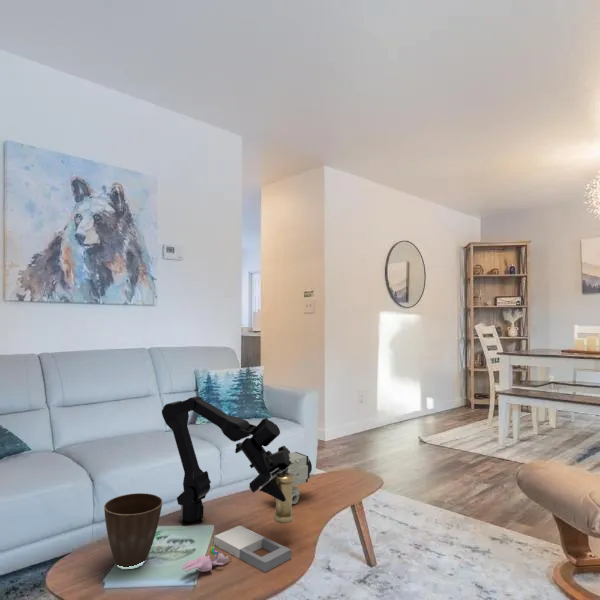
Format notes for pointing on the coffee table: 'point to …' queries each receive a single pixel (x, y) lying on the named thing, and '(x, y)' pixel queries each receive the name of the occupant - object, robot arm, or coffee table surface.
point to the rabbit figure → (207, 561)
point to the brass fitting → (285, 508)
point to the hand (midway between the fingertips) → (288, 497)
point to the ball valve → (298, 472)
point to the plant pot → (132, 526)
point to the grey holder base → (252, 548)
